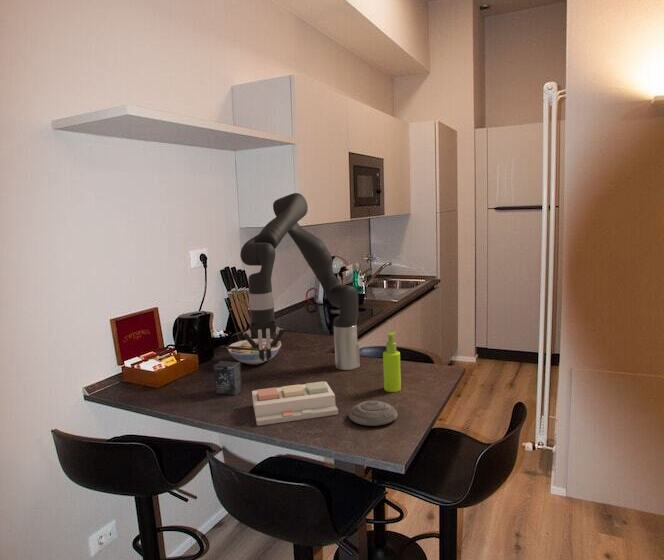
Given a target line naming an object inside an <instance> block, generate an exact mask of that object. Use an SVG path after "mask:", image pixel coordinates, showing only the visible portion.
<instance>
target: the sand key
mask: <svg viewBox="0 0 664 560" xmlns="http://www.w3.org/2000/svg"><path fill="white" fill-rule="evenodd" d="M301 385H302V384H300V383H299V384H293V385H291V384H290V385H283V386H281V387H282V395H283V398H288V397H296V396H303V389H302V387H301Z"/></svg>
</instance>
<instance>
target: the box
mask: <svg viewBox="0 0 664 560" xmlns="http://www.w3.org/2000/svg"><path fill="white" fill-rule="evenodd" d="M241 368H242V367H241V362H240V361H237V362H236V361H224V360H223V361H222V360H220V361H219V362H217V363H216V364H214V365H213V377H214V386H215V394H216V395H217V394H218V395H228V396H237V395H238V393H240V392H241V391H242V390H243V386H242V385H243V384H242V371H241Z"/></svg>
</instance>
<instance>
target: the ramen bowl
mask: <svg viewBox="0 0 664 560" xmlns="http://www.w3.org/2000/svg"><path fill="white" fill-rule="evenodd" d="M273 339H274V338H273ZM273 339H272V338H270V343H271V342H272V341H273ZM252 340H253V341H254V342H255V343H256V344H258V338H252ZM262 344H263V349H264V361H262V359H261V360H260V357H259V349H254V348H253V347H252V346H251V345H250V343H249V342H248V341H247V340H246V339H245V340H239V341H236V342H234V343H231V344H230V345H224V344H222V345H221V346H220V345H219V346H218V348H219V349H225V350H227V351H228V353H229V354H230V355H231V356H232V357H233V359H234V360H236V361H237V362H240V363H244V364H247V365H251V366H257V365H261V364H263V363H266V361H267V359H266V338H263V339H262ZM281 347H282V342H281V341H280V340H279V341H278V343H277V345H276V346H275V347H272V348H271V358H270V359H269V360H271V359H273V358H274V357H275V356H276V355H277V354H278V352H279V350H280V349H281Z"/></svg>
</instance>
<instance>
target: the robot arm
mask: <svg viewBox="0 0 664 560" xmlns="http://www.w3.org/2000/svg"><path fill="white" fill-rule="evenodd" d="M272 205H273V206H272V208H273V213H274V215H275V217H274V218H272V219H271V220H270V221H269V222H268V223H267V224H266V225H264V226H263V228H262V229H261V231H260V232H259V233H257V235H255V236H253V237H251V238H250V239H249V240H247V241H246V242H245V243H244V244H243V246H242V247H241V250H240V255H239V256H240V260H241V262H242V263H243V264H244V265H246V266H254V267H255V266H260V270H259V272H256V273H255V272H254V273H252V274H250V275H248V291H249V292H248V295H249V296H248V303H249V304H248V305H249V306H248V307H249V319H250V325H249V329H248V330H246V331H243V334H242V335H243V337H244V339H245V340H247V341H248V342H249V343H250V345H251V346H252V347H253V348H254V349H259V357H260V360H261V359H262V361H264V349H263V344H262V339H266V359H267V361H270V360H271V359H272V358H271V348H272V347H275V346H276V345H277V343H278V341H280V339H281V338H282V336H283V335H284V333H285V330H284V328H281V327H278V326H277V323H276V322H275V320H276V319H275V318H276V317H275V306H274V305H275V302H274V297H273V286H272V285H273V284H272V275H273V269H274V265H275V260H276V249H277V248H278V246H279V244H280V243H281V242H282V240H283V238H284V237H285V236H286V235H287V234H288V235H289V236H290V238H291V240H293V242H294V244H295V245H296V247H297V248H298V250H299V252H300V253H301V255H302V257H303V259H305V261H306V263H307V265H308V266H309V267H310V269H311V270H312V272H313V274H314V275H315V277H316V278H317V280H318V283H320V285H321V288H322V290H323V292H324V294H325V296H326V297H327V300H328V301H329V303H330V304H331V305H332V306H333V307H335V308H338V309H339V315H338V316H335V317H334V318H333V321H332V322H333V338H334V339H333V341H334V357H335V358H334V361H335V362H334V363H335V368H336V369H338V370H342V371H343V370H344V371H349V370H351V371H352V370H355V369H357V368H360V367H361V365H360V364H361V361H360V358H361V357H360V345H359V343H358V325H357V323H358V322H357V321H358V319H359V293H358V290H357V289H356V287H354V286H352V285H347V284H342V283H341V282H340V281H339V279H338V278H337V276H336V274H335V273H334V270H333V269H334V267H333V258H332V257H333V256H332V254H331V252H330V251H329V249H328V248H327V245H326V244H325V243H324V241H323V240H321V238H319V237H317V236H316V235H315V234H313V233H311V232H309V231H307V230H306V229H304V228H303V227H302V226H301V225H300V223H299V221H300V220H302V219H303V218H304V217H305V216H306V215H307V213H308V211H309V210H308V202H307V200H306V198H305V197H304V196H303V195H302V194H301V193H299V192H294V193H291V194H288V195H285V196H282V197H280V198H278V199H276V200H274V201H273V203H272ZM274 332H275V336H274V337H273V341H272V342H271V343H270V339H271V337H272V336H273V334H274ZM252 335H253V336H254V337H255V339H258V344H256V343H255V342H254V341H253V340H252V339H253V338H252ZM270 358H271V359H270Z"/></svg>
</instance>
